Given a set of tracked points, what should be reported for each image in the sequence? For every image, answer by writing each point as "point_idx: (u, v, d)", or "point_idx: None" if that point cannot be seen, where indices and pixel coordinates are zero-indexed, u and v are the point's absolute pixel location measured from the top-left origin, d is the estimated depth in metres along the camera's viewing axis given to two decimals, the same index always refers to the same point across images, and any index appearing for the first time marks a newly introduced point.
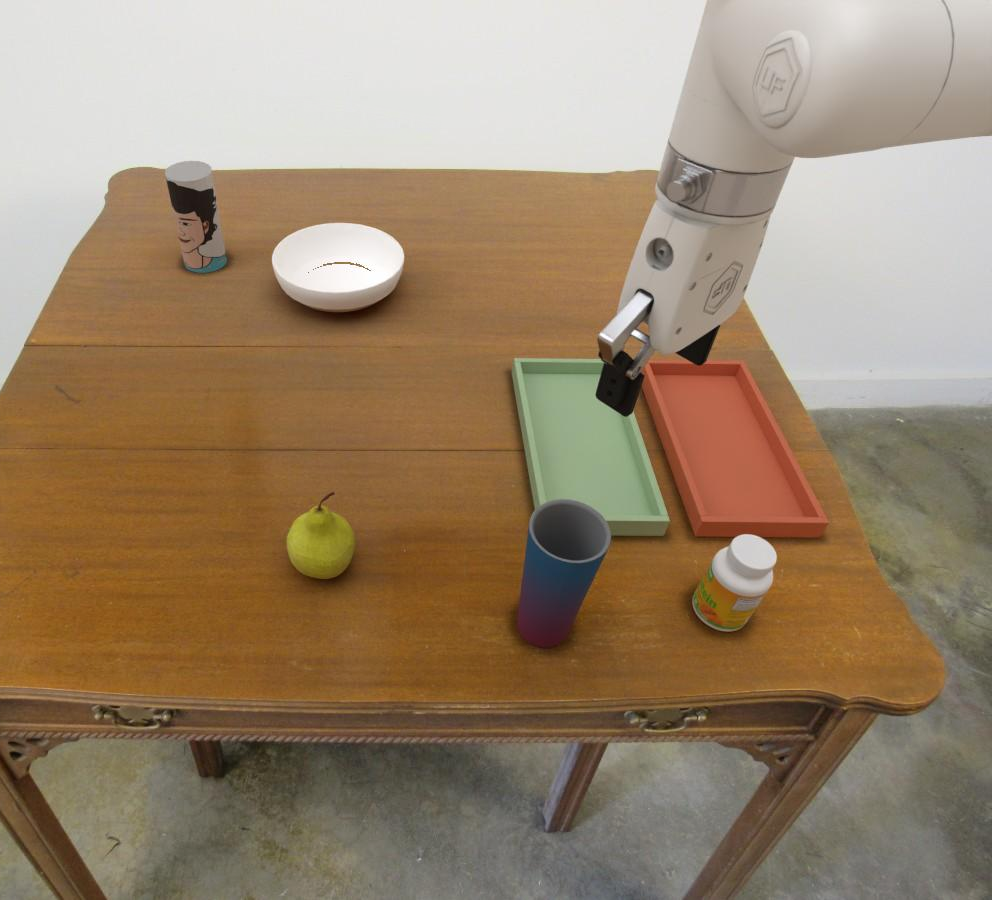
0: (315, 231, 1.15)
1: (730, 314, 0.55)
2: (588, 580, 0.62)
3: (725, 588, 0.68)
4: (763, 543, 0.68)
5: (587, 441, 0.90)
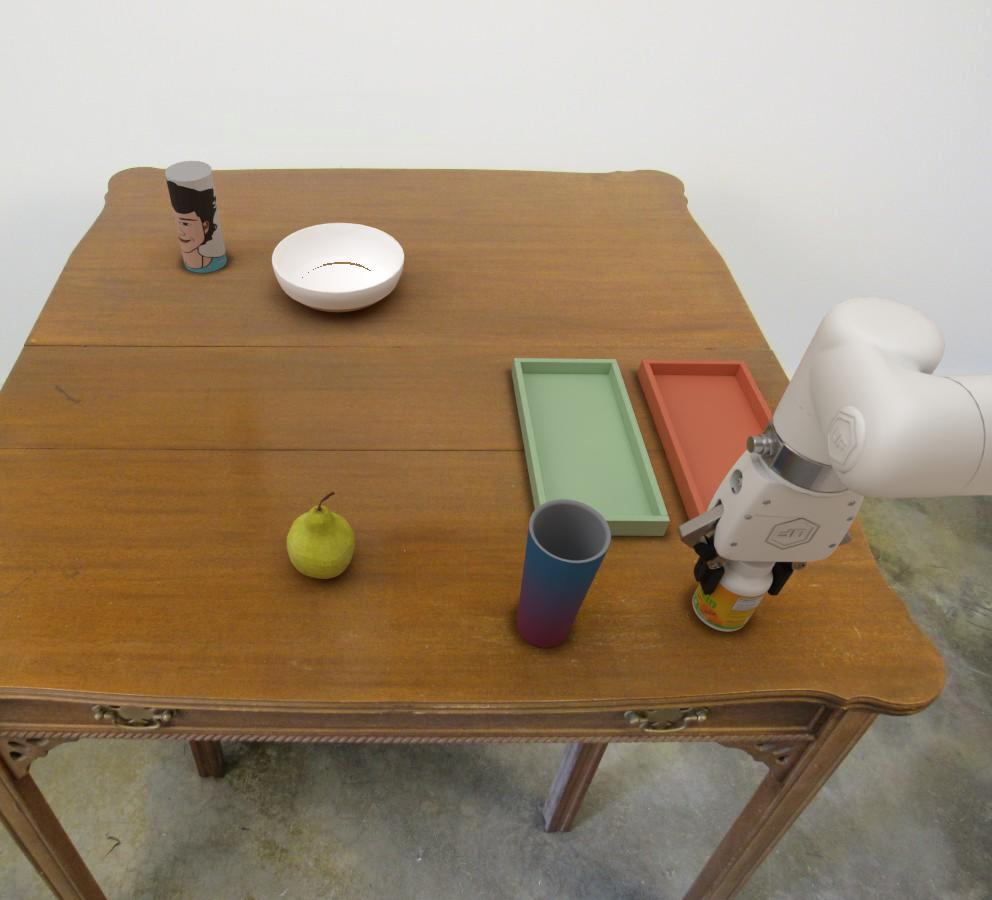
0: (315, 231, 1.15)
1: (812, 559, 0.63)
2: (588, 580, 0.62)
3: (724, 588, 0.68)
4: None
5: (587, 441, 0.90)
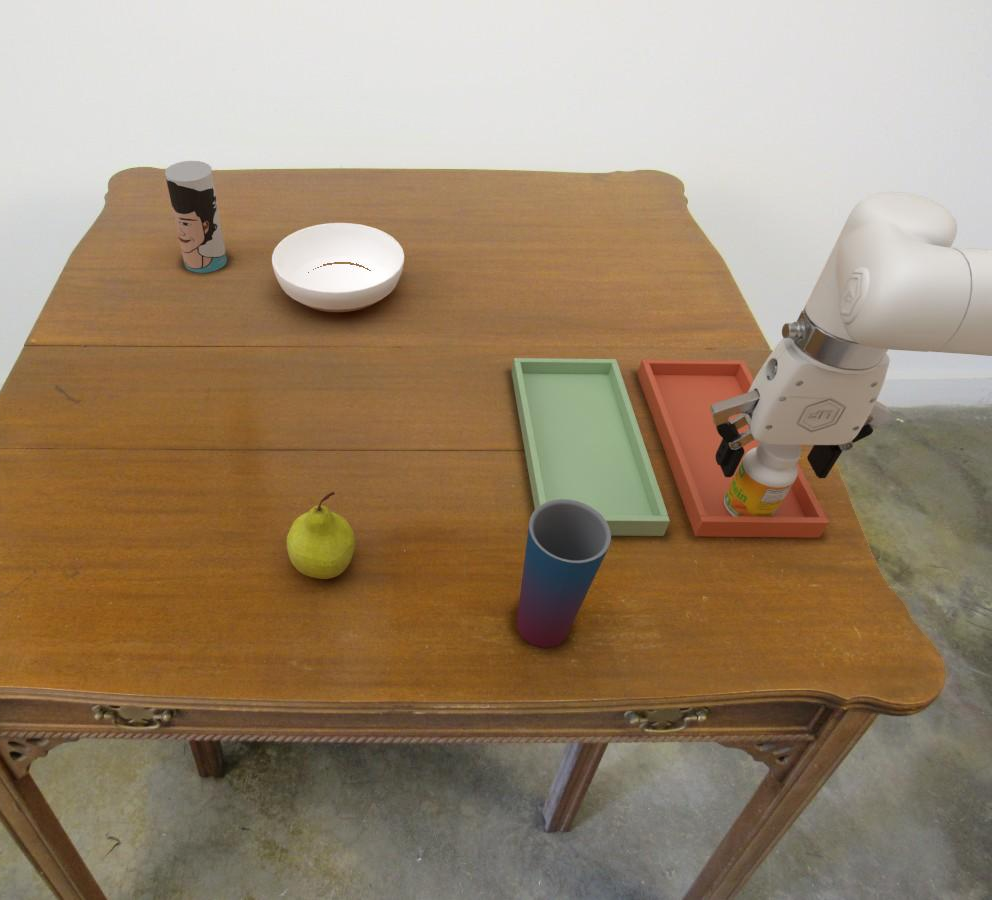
0: (315, 231, 1.15)
1: (837, 442, 0.71)
2: (588, 580, 0.62)
3: (755, 481, 0.77)
4: None
5: (587, 441, 0.90)
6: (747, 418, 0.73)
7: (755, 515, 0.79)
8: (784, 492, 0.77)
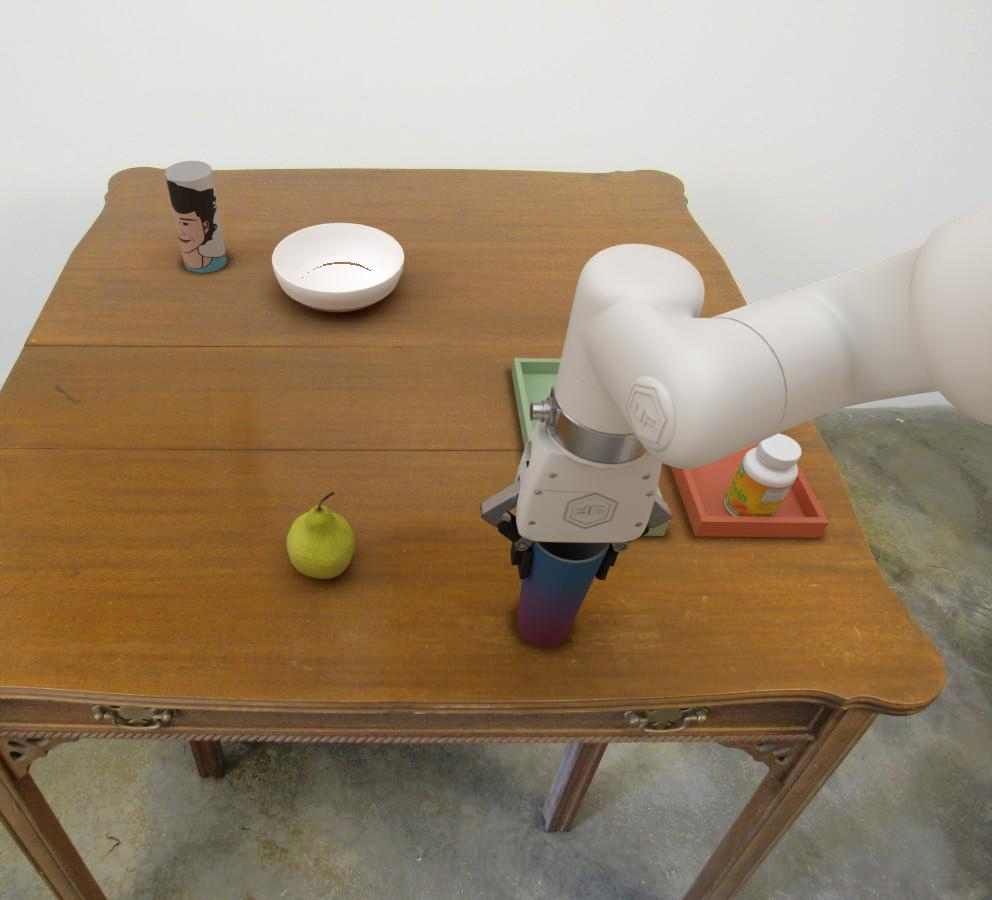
0: (315, 231, 1.15)
1: (620, 540, 0.58)
2: (588, 580, 0.62)
3: (755, 481, 0.77)
4: (789, 440, 0.76)
5: None
6: None
7: (755, 515, 0.79)
8: (784, 492, 0.77)
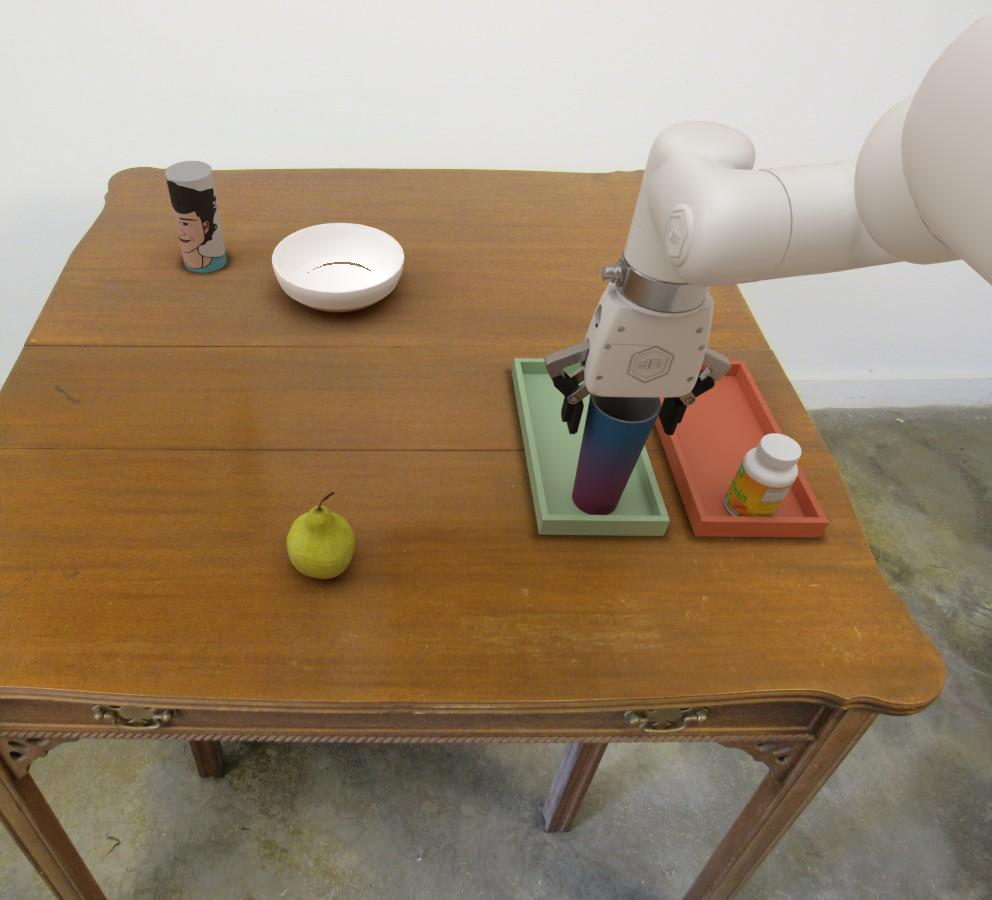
0: (315, 231, 1.15)
1: (674, 394, 0.68)
2: (641, 444, 0.73)
3: (755, 481, 0.77)
4: (789, 440, 0.76)
5: None
6: (585, 371, 0.71)
7: (755, 515, 0.79)
8: (784, 492, 0.77)
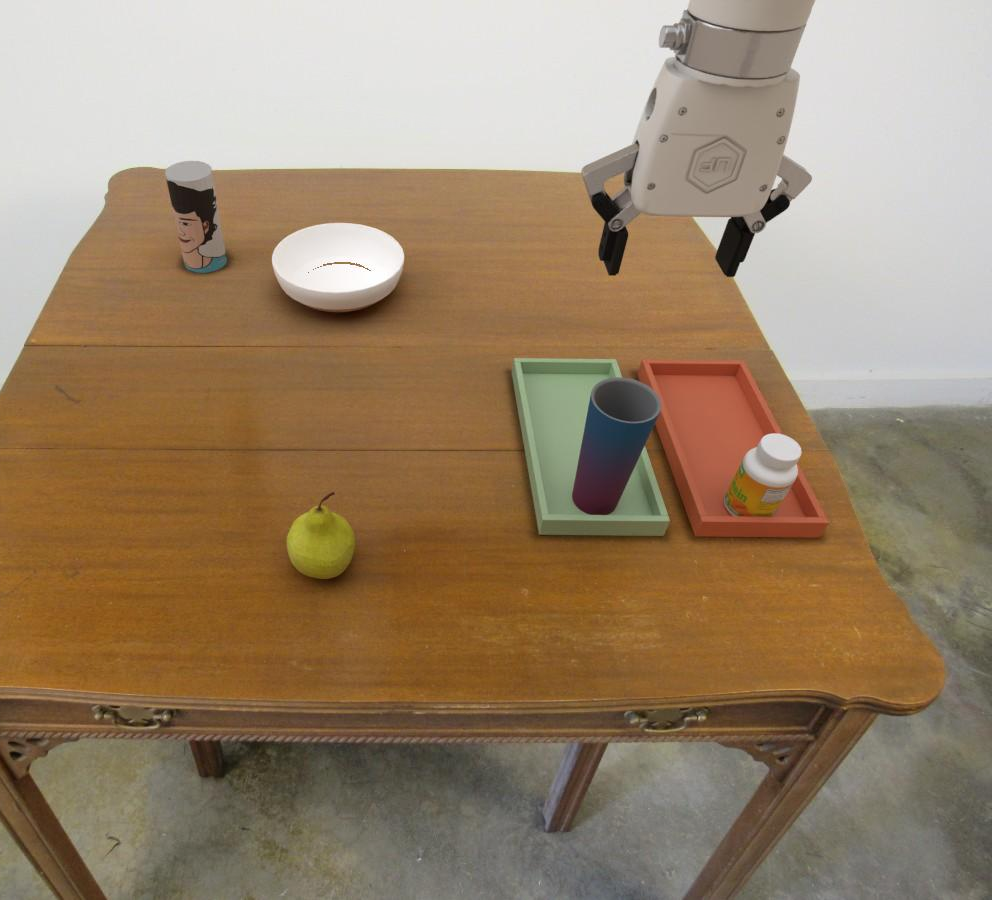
0: (315, 231, 1.15)
1: (741, 211, 0.56)
2: (641, 444, 0.73)
3: (755, 481, 0.77)
4: (789, 440, 0.76)
5: None
6: (630, 189, 0.58)
7: (755, 515, 0.79)
8: (784, 492, 0.77)
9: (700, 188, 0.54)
